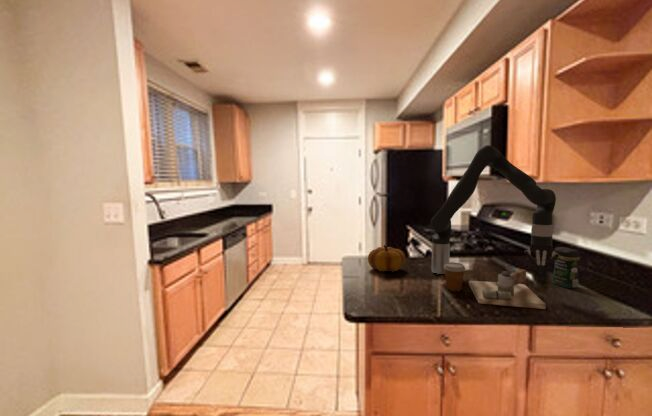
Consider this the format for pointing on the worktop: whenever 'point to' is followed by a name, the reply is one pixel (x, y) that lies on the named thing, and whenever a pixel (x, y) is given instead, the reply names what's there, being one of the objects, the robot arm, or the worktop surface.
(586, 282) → the worktop surface
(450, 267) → the disposable coffee cup
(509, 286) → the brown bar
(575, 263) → the coffee jar
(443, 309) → the worktop surface
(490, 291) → the level stand
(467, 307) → the worktop surface
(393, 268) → the decorative pumpkin
